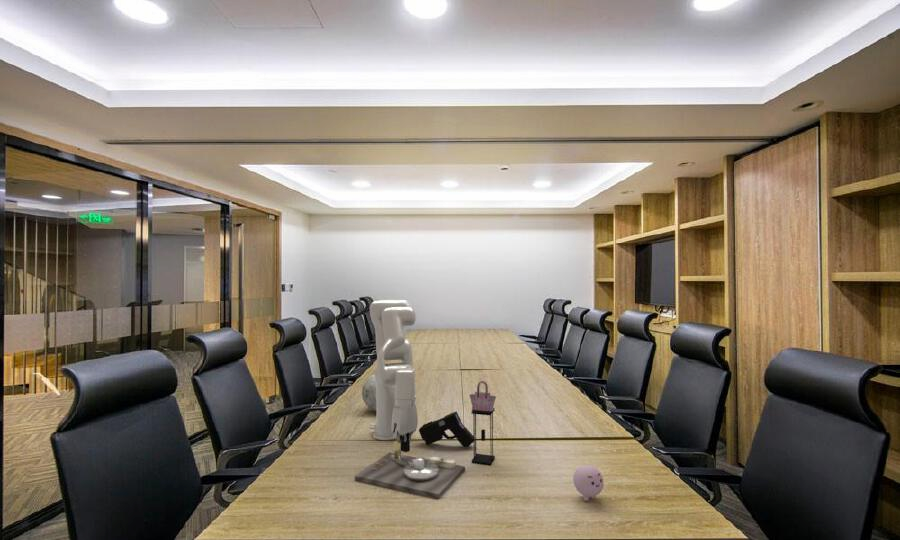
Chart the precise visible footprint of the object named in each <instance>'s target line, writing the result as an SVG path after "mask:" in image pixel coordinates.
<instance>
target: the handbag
mask: <svg viewBox="0 0 900 540" xmlns="http://www.w3.org/2000/svg"><path fill="white" fill-rule="evenodd" d="M487 383H488V382H486V381H484V380H480V381H479V382H478V383H477V385H476V391H474V393H473V394H472V393H471V394H469V399H470V403H471V411H470V412H471V413H470V414H472V415H473V420H472V421H473V425H472V426H473V430H472V431H473V436H474V442H473V458H472V459H471V464H476V465H481V466H492V464H493V462H494V461H495V459H496V456H495V455H494V415H493V414H494V412H495V407H494V406H495V401H496V399H497V396H495V395H491V392H489V388H488V387H489V386H488V384H487ZM481 384H483V385H484V387H485V392H484V391H480V385H481ZM477 415H480V416H481V415H482V416H489V417H490V419H489V421H490V426H489V427H490V428H489V430H490V432H489V433H490V442H489V443H490V445H491V449H490V455H489V454H482V453H477ZM480 435H481V436H480V437H481V439H480V440H481V441H482V442H485V441H486V429H481V431H480Z"/></svg>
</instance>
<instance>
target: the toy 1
mask: <svg viewBox="0 0 900 540" xmlns="http://www.w3.org/2000/svg"><path fill="white" fill-rule="evenodd" d="M446 431H450V432H451V433H452V434H453V435H452V436H451V435H448V434H447V433H446ZM418 432H419V434H420V435H419V436H420V437H421V439H422V441H424V443H425V445H426V446H430V445H432V444H434V443H436V442H438V441H441V440H443V438H445V439H446V440H453V439H456V440H457V441H458V442H459V444H460V445H461V446H462V447H463V448H464V449H468V448H469V446H471V445H472V444H474V434H472V433H471V432H470V430H469V429H468V428H467V427H466V426H465V424H463V422H462V420H461V417H460V416H459V414H458V411H453V412H452V413H448V414H447V415H444V416H443V417H442V418H439V419H437V420H433V421H429V422H427V423H424V424H423V425H422V426H420V428H419V429H418Z"/></svg>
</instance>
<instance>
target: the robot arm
mask: <svg viewBox="0 0 900 540" xmlns="http://www.w3.org/2000/svg"><path fill="white" fill-rule="evenodd" d="M369 315H370V320H371V323H372V324H373V328H374V333H375V348H376V349H375V351H376V356H377V357H376V367H375V369H374V371H373V372H374V373H373V374H374V377H375V384H376V411H375V412H376V416H375V417H376V420H375V421H376V423H374V422H371V423H370V425H369V429H370V430H374V432H372V437H373V439H375V440H379V441H392V440H398V441H401V452H404V453H408V452H410V450H411V449H410V448H411V443H410V442H411V440H412V435H413V434H414V433H415V432H417V428H418V424H419V423H418V421H419V420H418V419H419V418H418V409H417V404H416V399H417V396H416V372H415V369H414V361H413V360H414V358H413V348H412V344H411V341H410V340H409V339H408V338H406V333H405V329H404V328H405V327H412V326H414V325H415V324H416V321H417V320H416V319H417V316H416V311H415V309H414V307H413V305H411V303H410V302H409V301H408V300H406V299H378V300H375V301H373V302H372V301H371V304H370V306H369ZM385 361H401V362H390V363H386V362H385ZM393 385H395V390H394V389H393V388H392V386H393Z"/></svg>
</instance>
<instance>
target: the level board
mask: <svg viewBox="0 0 900 540" xmlns="http://www.w3.org/2000/svg"><path fill="white" fill-rule="evenodd" d="M391 455H394V453H393V452H388V453H386V454H385V455H383V456H382V457H380V458H379V459H378V460H376V461H374V462H373V463H372V464H369V465H368V466H367V467H365V468H364V469H363V470H361V471H360V472H358V473H357V474H355V475H354V481H357V482H362V483H366V484H369V485H374V486H379V487H384V488H389V489H393V490H396V491H401V492H404V493H405V492H406V493H410V494H415V495H419V496H424V497H429V498H432V499H437V500H439V499H440V498H441V497H442V496H443V495H444V494H445V493H446V491H447V490H448V489H450V487H451V486H452V485H453V484H454V483H455V482H456V481H457V480H458V479H459V478H460V476H461V475H463V474H464V472H465V471H466V466H464V465H459V464H457V461H456V460H453V459H447V458H442V457H437V456H436V457H435V456H430V457H428V459H426V458H424V461H426V462H432V463H434V464H436V465H437V466H438V467H439V474H438V476H436V477H435V478H433V479H431V480H426V481H414V480H410V479H408V478H406V477H405V476H404V468H405V466H403V465H401V464H399V463H397V462H396V461H395V460H393V459H391ZM414 457H415V456H411V455H405V454H401V458H403V459H405V460H407V461H409V462H412V463H413V458H414Z"/></svg>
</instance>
